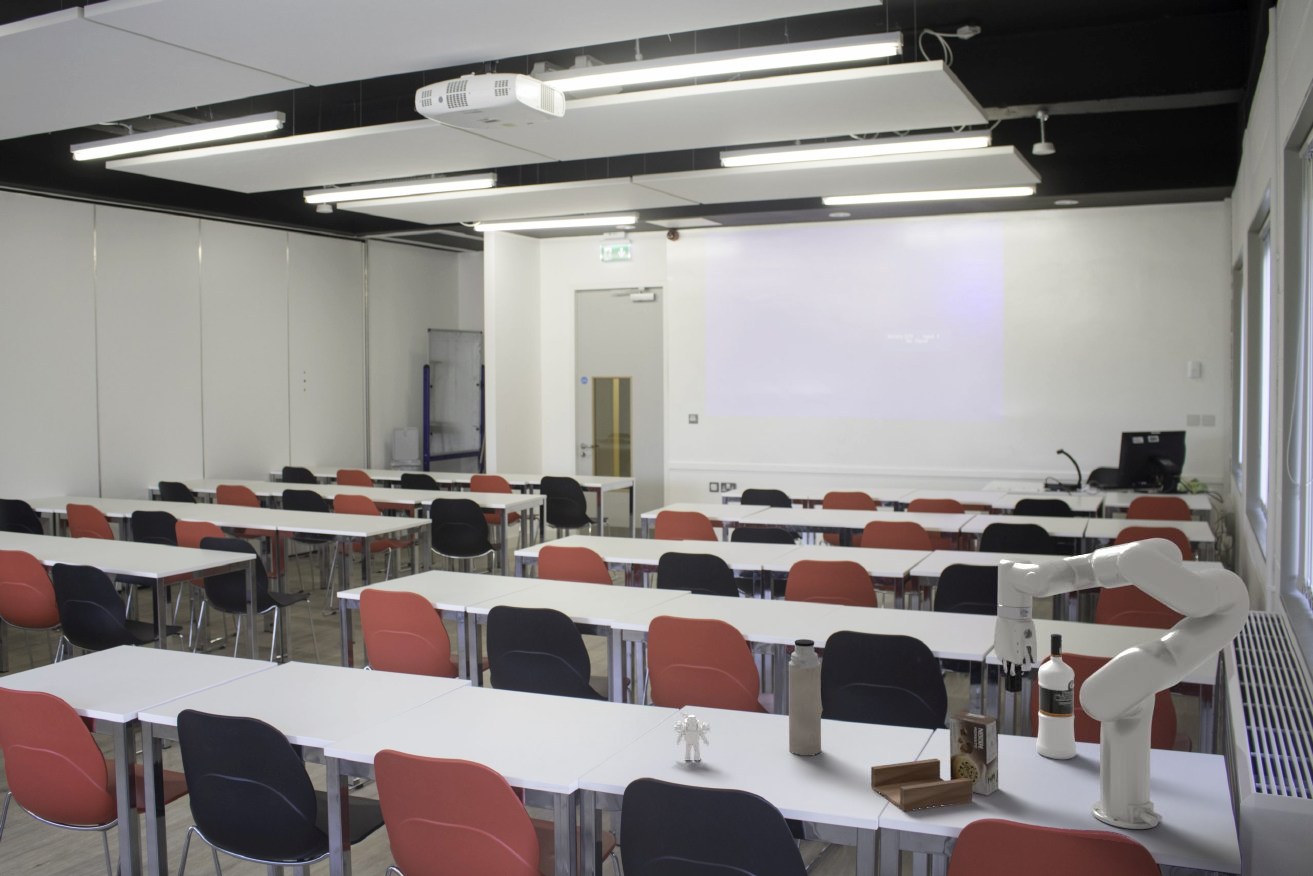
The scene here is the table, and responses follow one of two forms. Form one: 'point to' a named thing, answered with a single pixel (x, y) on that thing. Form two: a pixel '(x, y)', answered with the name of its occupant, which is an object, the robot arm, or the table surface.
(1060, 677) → the vodka
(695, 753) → the blocky character figurine
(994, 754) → the coffee box
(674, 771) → the table surface
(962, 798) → the u rest
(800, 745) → the thermos bottle
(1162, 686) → the robot arm
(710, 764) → the table surface
